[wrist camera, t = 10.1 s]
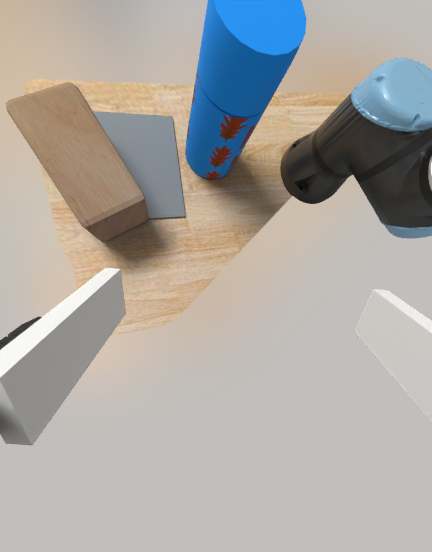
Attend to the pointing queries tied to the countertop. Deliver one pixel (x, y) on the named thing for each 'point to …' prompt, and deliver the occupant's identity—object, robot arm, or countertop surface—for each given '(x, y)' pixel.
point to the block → (80, 159)
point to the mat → (148, 158)
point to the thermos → (238, 76)
